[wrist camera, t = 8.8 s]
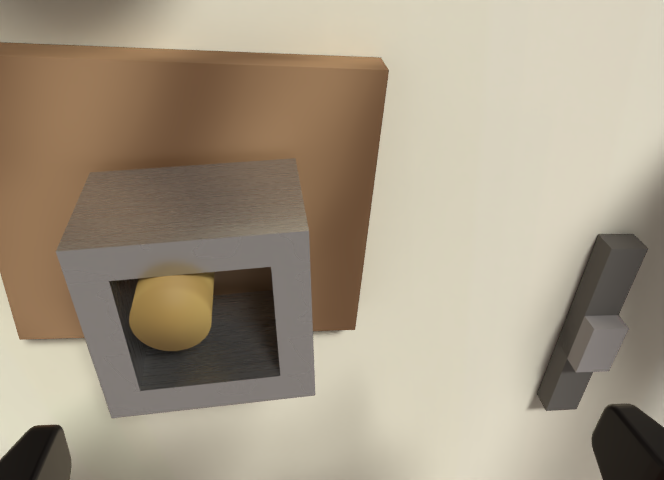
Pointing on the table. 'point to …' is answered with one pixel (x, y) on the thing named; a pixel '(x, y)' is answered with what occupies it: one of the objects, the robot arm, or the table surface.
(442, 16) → the table surface
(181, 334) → the wooden peg board
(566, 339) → the grey long bar
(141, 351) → the end link
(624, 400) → the table surface
